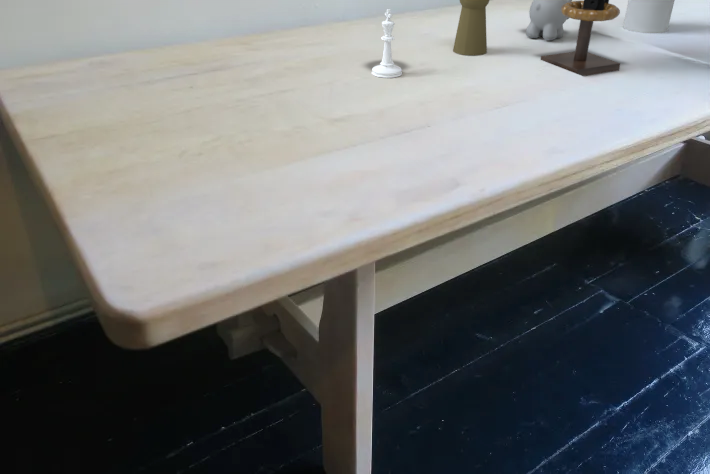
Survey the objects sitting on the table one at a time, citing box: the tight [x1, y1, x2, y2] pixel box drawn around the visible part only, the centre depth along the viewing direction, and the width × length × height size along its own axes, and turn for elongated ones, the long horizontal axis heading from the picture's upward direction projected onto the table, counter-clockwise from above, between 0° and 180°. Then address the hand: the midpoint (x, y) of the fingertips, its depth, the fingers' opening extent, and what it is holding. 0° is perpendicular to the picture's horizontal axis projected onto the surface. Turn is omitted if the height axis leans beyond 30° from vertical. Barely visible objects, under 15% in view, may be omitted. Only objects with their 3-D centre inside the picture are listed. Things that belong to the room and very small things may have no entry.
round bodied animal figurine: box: [525, 0, 573, 41], centre depth 127 cm, size 7×12×8 cm, turn 135°
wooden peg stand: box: [540, 8, 621, 77], centre depth 109 cm, size 9×9×9 cm
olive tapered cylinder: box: [452, 0, 490, 56], centre depth 116 cm, size 6×6×11 cm
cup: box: [622, 0, 675, 35], centre depth 127 cm, size 8×8×12 cm
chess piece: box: [371, 8, 403, 79], centre depth 105 cm, size 5×5×10 cm
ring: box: [561, 0, 621, 22], centre depth 106 cm, size 9×9×2 cm
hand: (594, 10), depth 109 cm, fingers closed on ring, 2 cm apart
